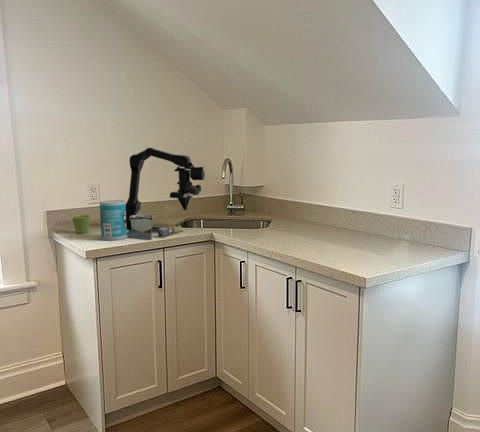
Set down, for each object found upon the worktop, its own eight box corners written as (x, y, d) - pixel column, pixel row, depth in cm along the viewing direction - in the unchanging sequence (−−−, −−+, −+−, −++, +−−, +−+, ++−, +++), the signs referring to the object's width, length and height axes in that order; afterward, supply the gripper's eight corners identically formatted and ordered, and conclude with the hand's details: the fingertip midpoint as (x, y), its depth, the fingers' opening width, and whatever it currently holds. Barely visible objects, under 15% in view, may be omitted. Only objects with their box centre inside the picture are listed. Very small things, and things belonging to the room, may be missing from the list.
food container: (157, 233, 245) (156, 214, 244) (154, 236, 239) (153, 216, 238) (133, 233, 246) (133, 214, 245) (129, 236, 240) (129, 216, 239)
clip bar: (172, 233, 246) (171, 226, 245) (179, 231, 251) (178, 224, 250) (174, 233, 245) (174, 226, 244) (181, 231, 250) (181, 224, 250)
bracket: (125, 237, 238) (125, 231, 238) (146, 231, 252) (146, 225, 252) (150, 239, 231) (149, 233, 230) (170, 233, 245) (170, 227, 245)
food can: (132, 237, 236) (130, 201, 233) (111, 242, 227) (109, 203, 224) (117, 234, 244) (115, 199, 241) (96, 238, 234) (94, 201, 232)
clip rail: (157, 237, 236) (157, 229, 236) (178, 231, 252) (178, 223, 251) (162, 238, 235) (162, 229, 234) (183, 231, 250) (182, 224, 250)
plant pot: (77, 235, 243) (76, 218, 241) (69, 233, 250) (68, 216, 248) (94, 233, 249) (93, 216, 247) (87, 230, 256) (86, 214, 254)
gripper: (187, 182, 239) (187, 213, 241) (207, 179, 255) (207, 208, 257) (168, 181, 244) (169, 212, 246) (189, 178, 260) (190, 207, 263)
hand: (185, 209), depth 253 cm, fingers closed
